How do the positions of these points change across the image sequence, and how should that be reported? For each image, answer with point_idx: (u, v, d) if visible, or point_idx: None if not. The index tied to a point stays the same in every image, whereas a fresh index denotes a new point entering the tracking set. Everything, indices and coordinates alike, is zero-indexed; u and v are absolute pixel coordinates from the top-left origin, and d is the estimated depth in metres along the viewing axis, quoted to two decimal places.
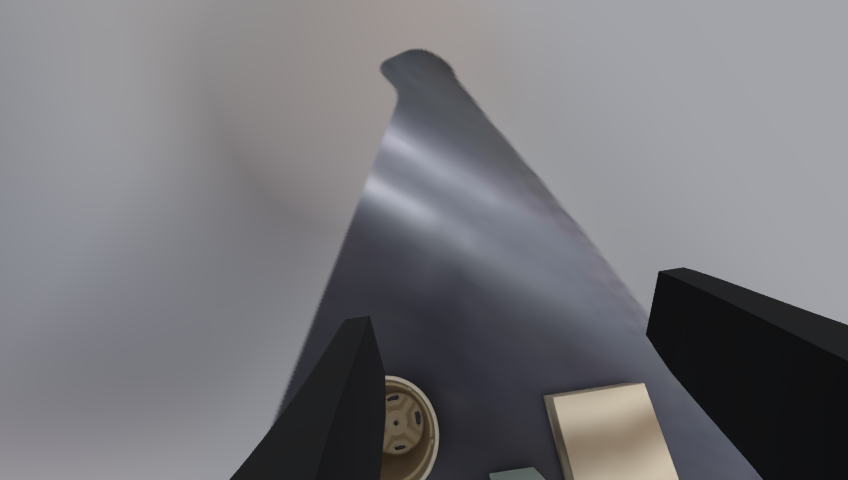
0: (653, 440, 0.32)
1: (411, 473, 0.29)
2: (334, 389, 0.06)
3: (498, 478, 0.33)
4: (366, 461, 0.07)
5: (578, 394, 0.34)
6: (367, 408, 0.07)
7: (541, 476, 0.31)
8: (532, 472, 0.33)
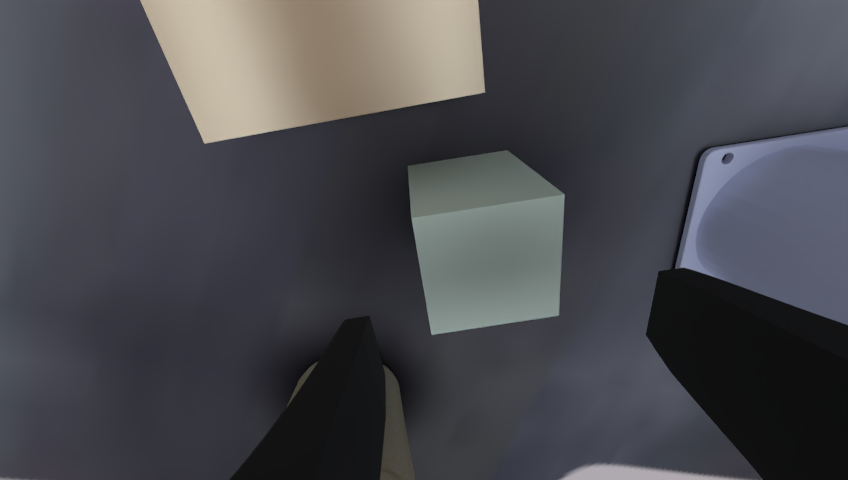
0: None
1: (399, 476, 0.15)
2: (334, 389, 0.06)
3: None
4: (366, 461, 0.07)
5: (168, 53, 0.10)
6: (367, 408, 0.07)
7: (410, 193, 0.12)
8: None
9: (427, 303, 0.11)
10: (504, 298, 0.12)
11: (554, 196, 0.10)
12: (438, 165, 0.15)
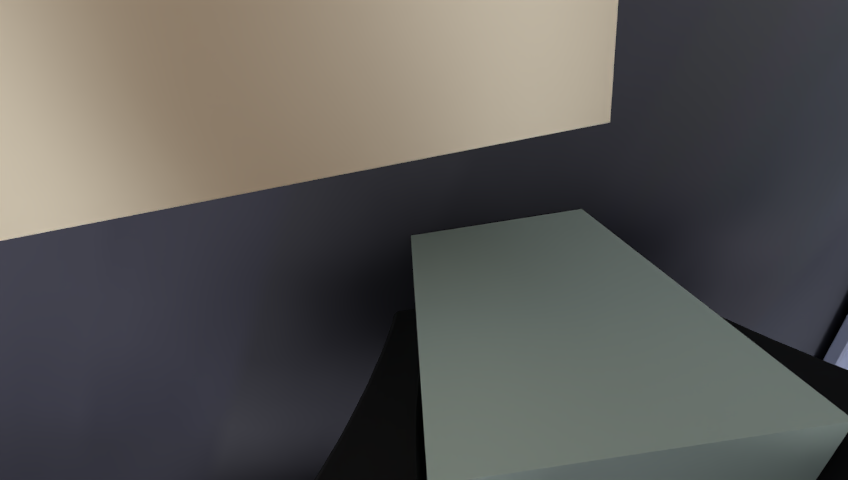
0: None
1: None
2: (408, 378, 0.06)
3: None
4: None
5: None
6: None
7: (418, 333, 0.06)
8: None
9: None
10: None
11: (824, 424, 0.04)
12: (465, 241, 0.08)
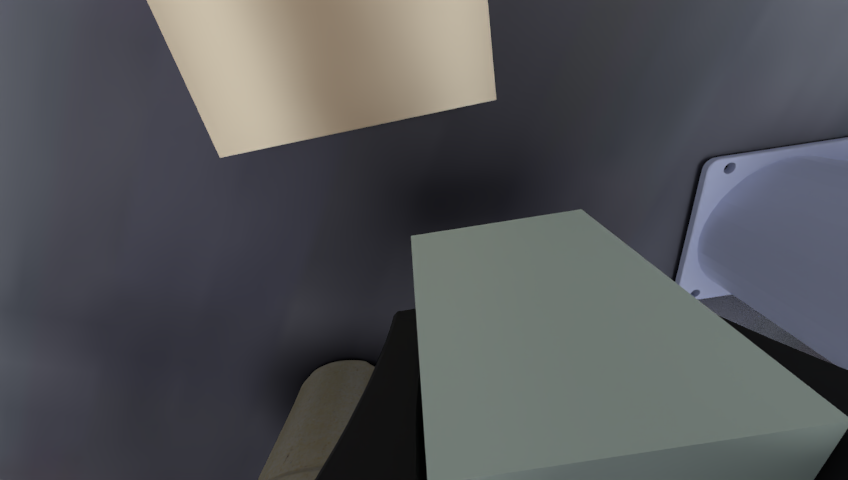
0: None
1: None
2: (408, 378, 0.06)
3: None
4: None
5: (183, 71, 0.10)
6: None
7: (418, 333, 0.06)
8: None
9: None
10: None
11: (821, 424, 0.04)
12: (465, 241, 0.08)
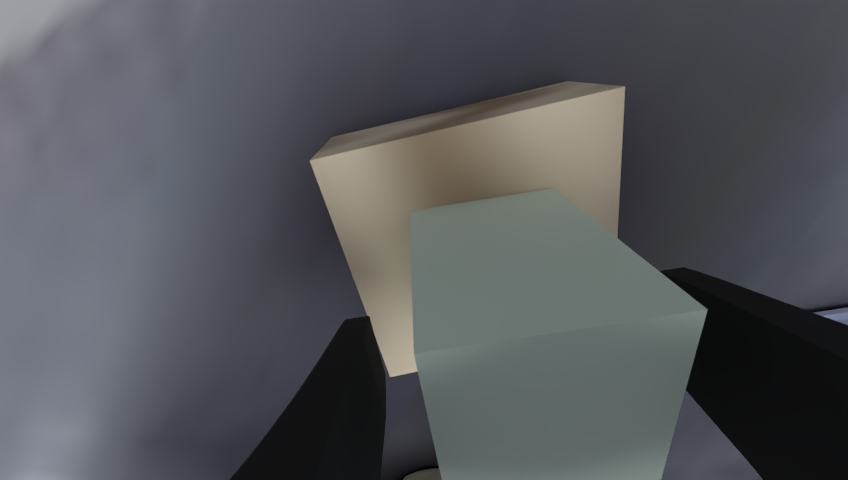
0: (480, 155, 0.10)
1: None
2: (334, 389, 0.06)
3: None
4: (366, 461, 0.07)
5: (375, 328, 0.13)
6: (367, 408, 0.07)
7: (412, 275, 0.07)
8: None
9: (442, 471, 0.07)
10: (573, 461, 0.07)
11: (687, 312, 0.05)
12: (454, 213, 0.10)
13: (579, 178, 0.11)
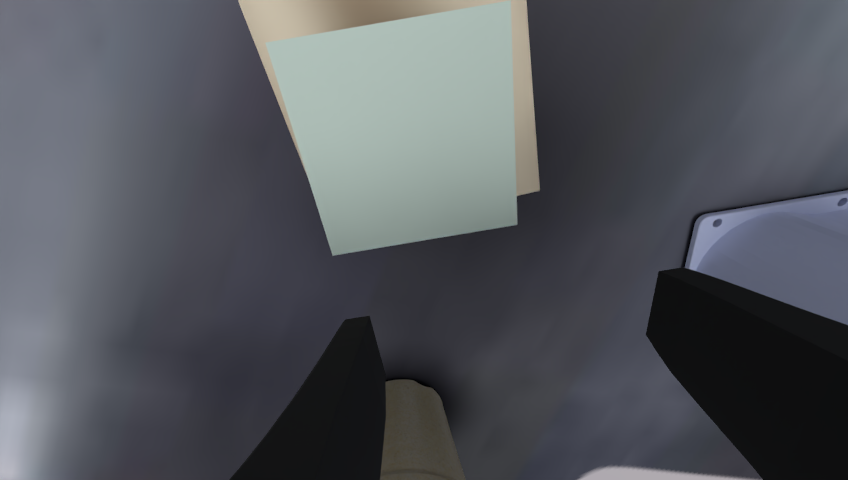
0: None
1: None
2: (334, 389, 0.06)
3: None
4: (366, 461, 0.07)
5: None
6: (367, 408, 0.07)
7: None
8: None
9: (318, 202, 0.08)
10: (433, 194, 0.08)
11: (494, 4, 0.06)
12: None
13: None
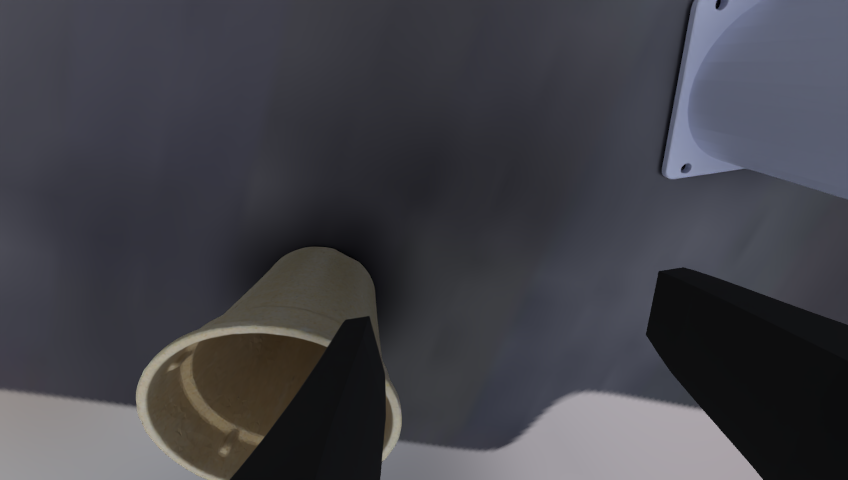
0: None
1: None
2: (334, 389, 0.06)
3: None
4: (366, 461, 0.07)
5: None
6: (367, 408, 0.07)
7: None
8: None
9: None
10: None
11: None
12: None
13: None
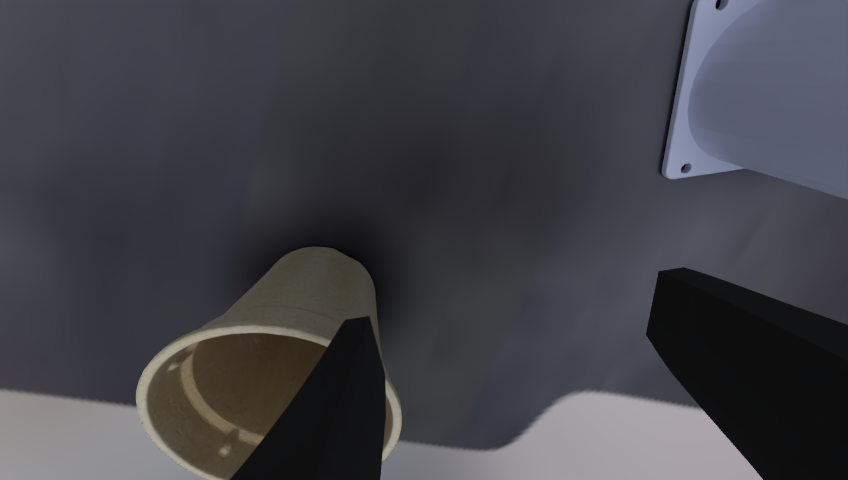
0: None
1: None
2: (334, 389, 0.06)
3: None
4: (366, 461, 0.07)
5: None
6: (367, 408, 0.07)
7: None
8: None
9: None
10: None
11: None
12: None
13: None
